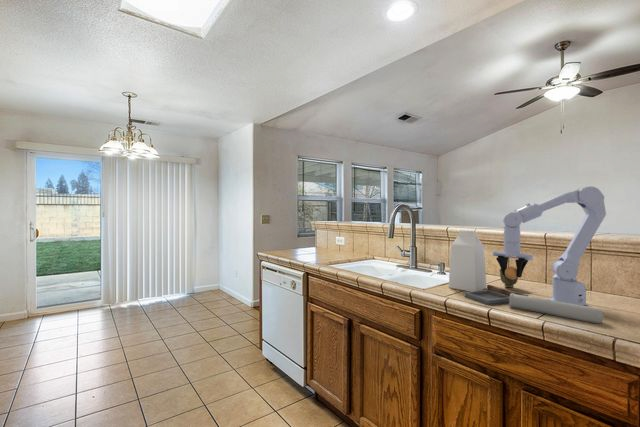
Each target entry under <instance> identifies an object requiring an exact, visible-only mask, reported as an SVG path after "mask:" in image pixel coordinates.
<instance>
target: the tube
mask: <svg viewBox="0 0 640 427" xmlns="http://www.w3.org/2000/svg"><path fill="white" fill-rule="evenodd" d="M508 304H509V305H508V306H509V308H511V309H519V310H523V311H529V312H534V313H538V314H539V313H540V314H544V315H550V316H556V317H561V318H566V319H572V320H576V321H583V322H588V323H590V324H591V323H593V324H603V321H604V318H605V317H604V313H603V310H602V309H600V308H597V307H592V306H588V305H583V306H582V305H576V304H570V303H564V302H558V301H552V300H547V298H546V299H545V298H539V297H534V296H529V295H528V296H523V295H517V294H514V293H511V294H510V298H509V303H508Z"/></svg>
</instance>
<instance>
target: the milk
mask: <svg viewBox="0 0 640 427" xmlns="http://www.w3.org/2000/svg"><path fill="white" fill-rule="evenodd" d="M458 232H459V233H458V235H457V236H456V238H455V239H454V241H453V242H452V244H451V246H450V254H449V255H450V257H449V276H448V288H450V289H455V290H460V289H461V290H462V291H466V292H474V291H483V290H485V289H487V276H486V275H487V273H486V258H485V247H484V245H483V243H482V241H481V240H480V239H479V237H478V236H477V233H476V231H475V230H465V229H464V230H463V229H462V230H459V231H458ZM461 290H460V291H461Z"/></svg>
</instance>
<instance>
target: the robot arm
mask: <svg viewBox="0 0 640 427" xmlns="http://www.w3.org/2000/svg"><path fill="white" fill-rule="evenodd" d="M564 204H577V205H578V206H580V207H581V208H582V210H583V211H584V214H585V216H584V218H583V219H582V221H581V223H580V225H579V226H578V228H577V230H576V232H575V234H574V236H573V237H572V239H571V240H570V243H569V245H567V248H566V249H565V251H564V252H563V253H562V254H561V255H560V257H559V258H558V259H556V260H555V261H553V263H552V266H551V269H552V271H553V272H554V275H552V298H551V297H550V298H549V297H548V298H546V300H552V301H558V302H564V303H570V304H576V305H582V306H588V303H587V288H586V284H584V283H583V282H581V281H578V279H577V276H578V273H579V271H578V270H579V266H580V264H581V259H582V256H583V255H584V253H585V252H586V249H587V248H588V247H589V245H590V243H591V241H592V239H593V238H594V236H595V235H596V233H597V231H598V229H599V228H600V226H601V224H602V222H603V220H605V217H606V215H607V212H606V211H607V210H606V206H605V195H604V194H603V193H602V191H601V190H600V189H599V188H598V187H595V186H591V185H590V186H585V187H581V188H578V189H575V190H571V191H567V192H562V193H561V194H559V195H556V196H555V197H553V198H551V199H548V200H545V201H543V202H542V203H541V202H540V204H538V203H533V202H532V203H527V204H525V206H523V207H520V208H519V209H513V212H512V211H511V212H509V213H506V214H505V215H504V216H503V219H502V222H503V224H504V225H503V229H504V230H503V251H497V250H493V251H492V256H493V257H496V261H497V262H498V265H499V267H500V269H501V270H502V274H503V275H505V270H506V269H507V268H508V262H509V258H510V259H515V264H516V269H517V277H518V278H522V276H523V272H524V269H525V268H526V265H527V264H528V263H529V261H534V255H533V254H526V253H521V230H520V228H521V224H522V223H523V224H525V223H527V222H530V221H532V220H535V219H537V218H540V217H542V214H543V212H546V211H547V210H551V209H553V208H556V207H559V206H561V205H564Z"/></svg>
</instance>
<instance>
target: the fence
mask: <svg viewBox="0 0 640 427" xmlns="http://www.w3.org/2000/svg"><path fill="white" fill-rule="evenodd" d="M486 290H490V291H493V292H497V293H500V294H504V295H507V296H510V294H511V293H514V294H517V295H523V296H529V295H527V294H524V293H520V292H517V291H513V290H509V289H507V288H502V287H498V286H494V285H491V284H486Z"/></svg>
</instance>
